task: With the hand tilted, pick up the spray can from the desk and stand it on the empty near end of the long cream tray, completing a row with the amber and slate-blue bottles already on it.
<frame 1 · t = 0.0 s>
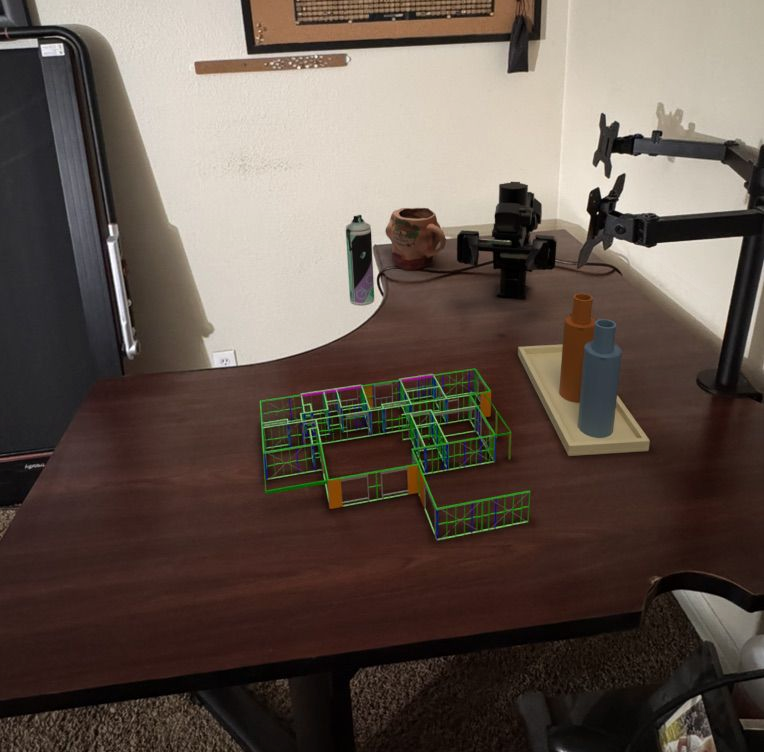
hand: (500, 265, 114), 17 cm above the table, tool horizontal, fingers open, 9 cm apart
spray can: (362, 301, 141), on the table
house model: (391, 466, 89), on the table
slate bottle: (594, 430, 94), resting on tray
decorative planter: (417, 265, 160), on the table
tray: (574, 397, 103), on the table
amber bottle: (574, 397, 103), resting on tray
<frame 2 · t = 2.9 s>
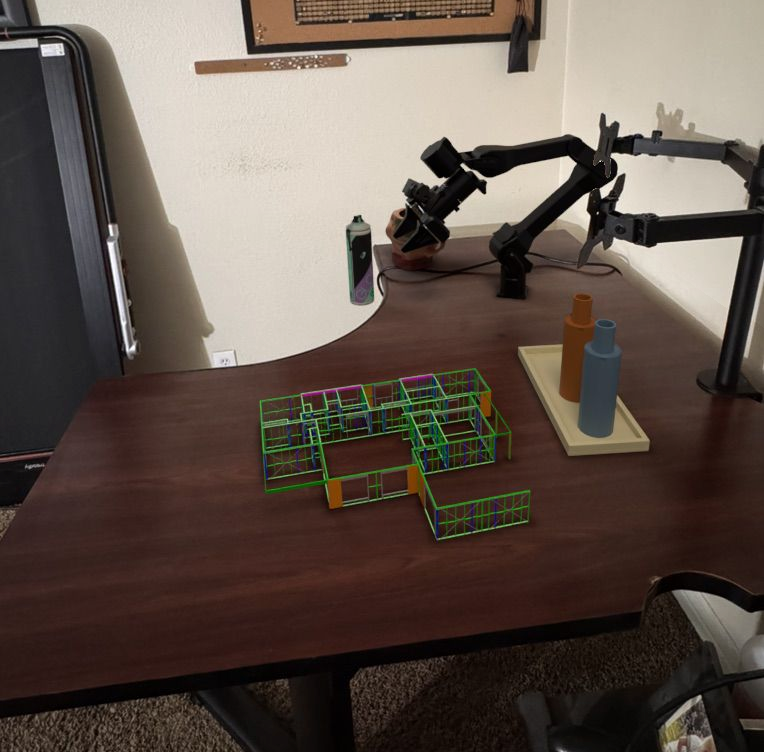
hand: (398, 244, 134), 14 cm above the table, tool tilted 50°, fingers open, 9 cm apart
nothing on the table moved.
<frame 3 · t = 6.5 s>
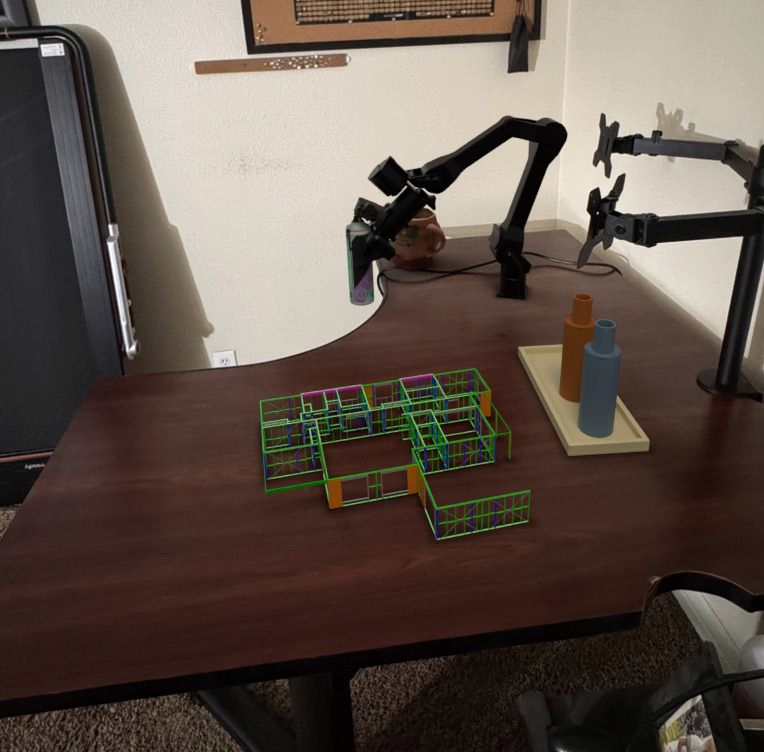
hand: (353, 261, 138), 10 cm above the table, tool tilted 45°, fingers closed on spray can, 5 cm apart
spray can: (362, 301, 141), on the table, touching gripper
everything else where it was.
when the fingers open (10 cm above the table, at t = 17.4 s): spray can stays where it is, resting on tray.
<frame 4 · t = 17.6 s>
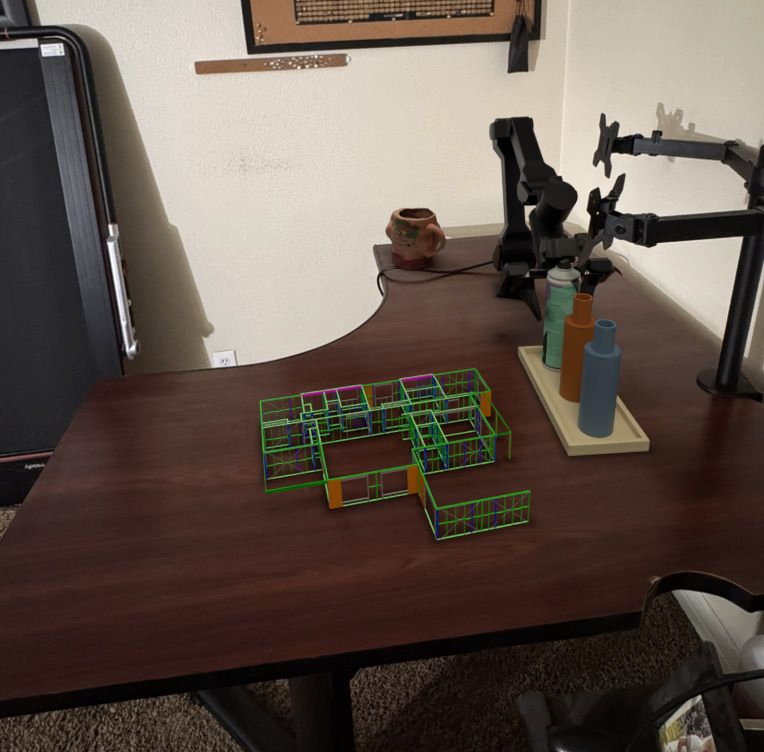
hand: (564, 319, 106), 10 cm above the table, tool tilted 45°, fingers open, 8 cm apart
spray can: (557, 365, 111), resting on tray
everything else where it was.
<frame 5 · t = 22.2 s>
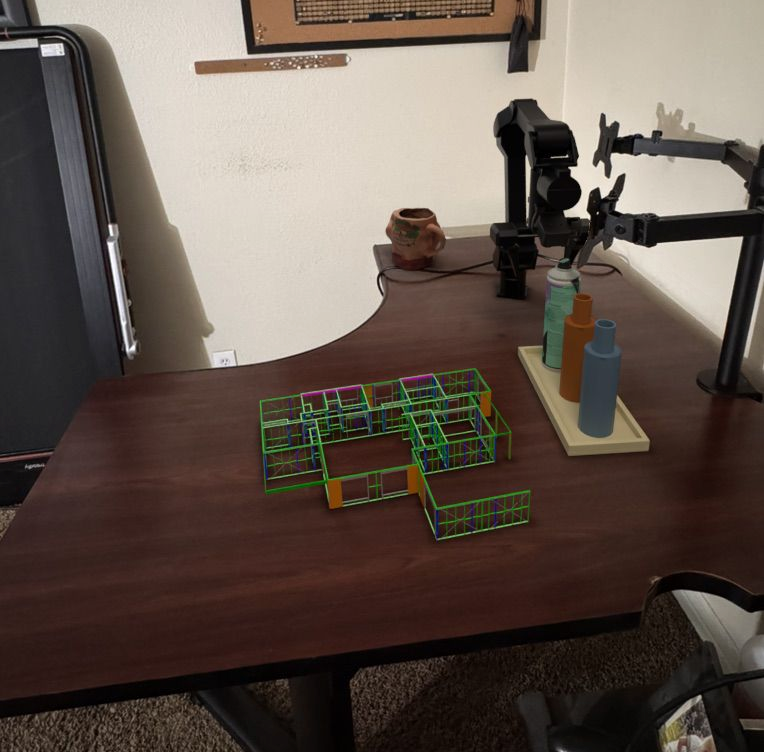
hand: (541, 275, 118), 13 cm above the table, tool pointing down, fingers open, 9 cm apart
nothing on the table moved.
at the end: spray can 0.2 cm from the target spot in the tray, point 0.4 cm above the tray's base; spray can tilted 0°; the gripper is holding nothing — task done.
